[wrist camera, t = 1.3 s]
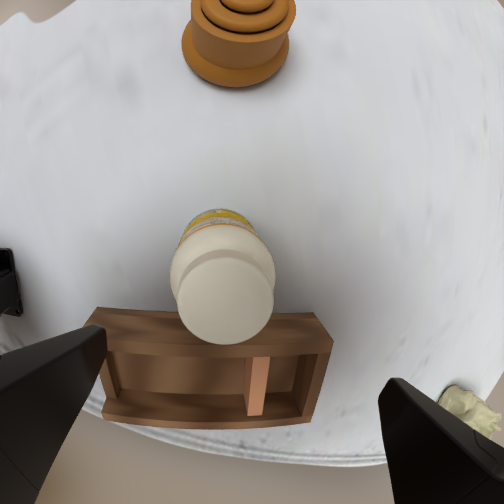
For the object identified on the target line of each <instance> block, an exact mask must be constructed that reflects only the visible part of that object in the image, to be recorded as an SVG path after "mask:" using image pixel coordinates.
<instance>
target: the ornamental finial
mask: <svg viewBox="0 0 504 504" xmlns="http://www.w3.org/2000/svg"><path fill="white" fill-rule="evenodd" d="M295 15H296V5H295V2H294V0H191V20H190V21H189V23H188V24H187V26H186V28H185V30H184V33H183V36H182V52H183V55H184V58H185V60H186V62H187V64H188V65H189V66H190V68H191V69H192V70H193V71H194V72H195V73H196V74H197V75H199V76H200V77H202V78H203V79H205V80H207V81H209V82H211V83H214V84H217V85H221V86H227V87H244V86H250V85H254V84H257V83H259V82H262V81H264V80H266V79H267V78H269V77H271V76H272V75H273V74H274V73H276V72H277V71H278V70H279V68H280V67H281V66H282V65H283V63H284V61H285V59H286V57H287V54H288V49H289V38H288V34H287V33H288V31H289V29H290V27H291V25H292V23H293V21H294V19H295Z"/></svg>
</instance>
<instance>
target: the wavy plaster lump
mask: <svg viewBox="0 0 504 504" xmlns="http://www.w3.org/2000/svg"><path fill="white" fill-rule="evenodd" d="M438 404H439V405H440V406H442V407H443V408H445V409H446V410H447V411H449V412H450V413H452V414H453V415H455V416H456V417H457V418H459V419H460V420H462V421H463V422H465V423H466V424H468V425H469V426H470V427H472V428H473V429H475V430H476V431H478V432H479V433H481V434H482V435H484V436H485V437H487V438H488V439H490V440H491V439H492V436H493V434H492V432H493V431H501V428H500V427H499V426H498V425H496V422H499V421H500V420H501V419H502V415H501V413H500V412H495V411H494V410H493V409H492V408H491V407H490V406H489V405H487V404H486V403H485V402H484V401H483V400H482V399H480V398H479V397H477V396H475V395H474V394H473V392H472V391H463V390H461V389H460V388H459V387H458V386H456V385H455V386H450V387H449V388H448V389H447V390H446V391H445V392H444V394H443V395H442V396H441V397H440V399H439V401H438Z"/></svg>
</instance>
